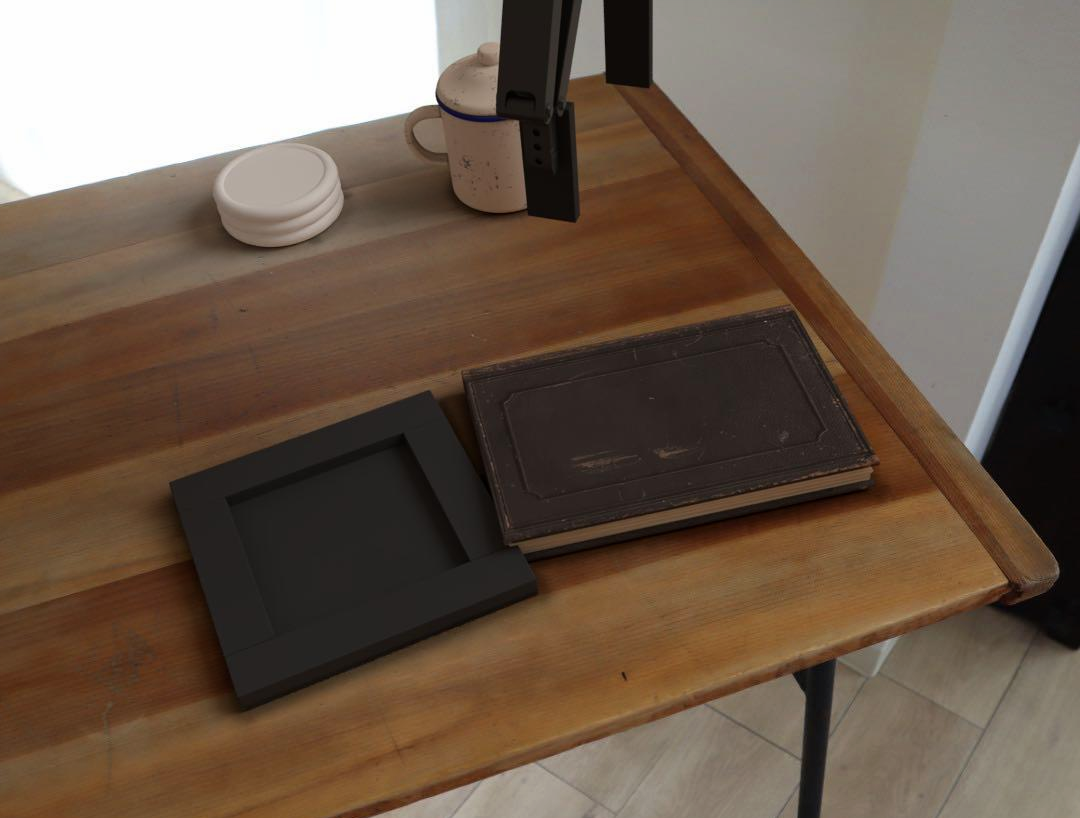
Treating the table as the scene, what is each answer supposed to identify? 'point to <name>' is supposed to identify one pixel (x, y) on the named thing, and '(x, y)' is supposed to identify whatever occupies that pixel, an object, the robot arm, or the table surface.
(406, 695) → the table surface
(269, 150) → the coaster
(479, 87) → the teacup with lid
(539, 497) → the hardcover book
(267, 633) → the base pad
